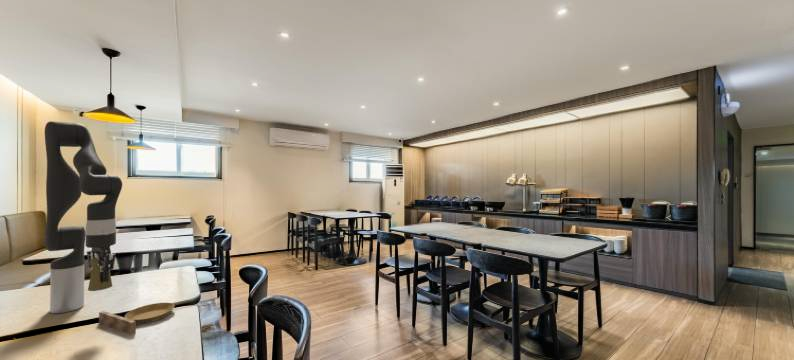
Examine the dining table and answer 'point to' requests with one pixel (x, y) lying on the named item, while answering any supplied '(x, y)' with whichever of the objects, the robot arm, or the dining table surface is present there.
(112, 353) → the dining table surface
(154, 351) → the dining table surface
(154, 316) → the plant saucer
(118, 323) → the walnut divider wall
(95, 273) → the tan tall tapered piece
